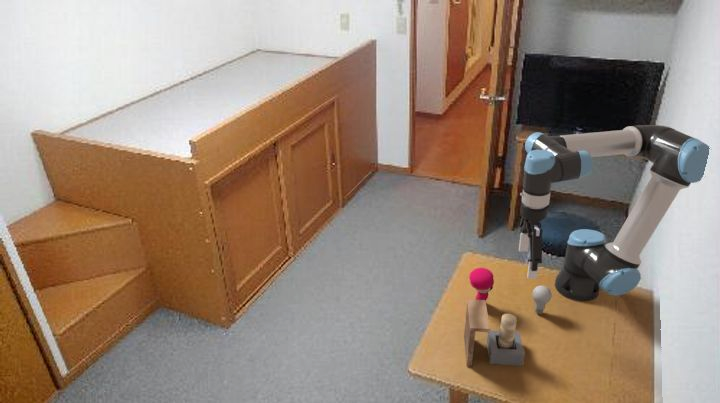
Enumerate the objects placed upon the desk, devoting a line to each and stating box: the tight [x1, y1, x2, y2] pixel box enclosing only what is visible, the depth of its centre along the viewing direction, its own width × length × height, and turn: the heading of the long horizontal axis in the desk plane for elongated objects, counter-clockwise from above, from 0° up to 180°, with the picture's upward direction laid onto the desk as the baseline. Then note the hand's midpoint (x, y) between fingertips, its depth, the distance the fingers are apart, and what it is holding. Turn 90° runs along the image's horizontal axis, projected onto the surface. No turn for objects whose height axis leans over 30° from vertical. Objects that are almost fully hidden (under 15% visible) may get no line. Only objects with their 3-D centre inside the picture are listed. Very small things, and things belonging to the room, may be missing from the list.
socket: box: [486, 330, 526, 367], centre depth 169 cm, size 10×10×4 cm
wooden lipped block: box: [463, 298, 491, 367], centre depth 167 cm, size 6×13×15 cm, turn 174°
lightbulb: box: [531, 285, 553, 315], centre depth 183 cm, size 6×6×11 cm
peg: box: [497, 313, 518, 349], centre depth 167 cm, size 4×4×14 cm
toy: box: [469, 267, 495, 302], centre depth 186 cm, size 8×8×15 cm
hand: (527, 264), depth 165 cm, fingers open, 13 cm apart
